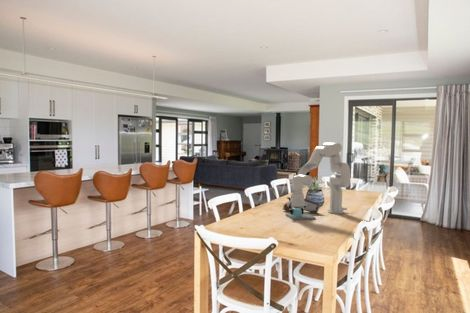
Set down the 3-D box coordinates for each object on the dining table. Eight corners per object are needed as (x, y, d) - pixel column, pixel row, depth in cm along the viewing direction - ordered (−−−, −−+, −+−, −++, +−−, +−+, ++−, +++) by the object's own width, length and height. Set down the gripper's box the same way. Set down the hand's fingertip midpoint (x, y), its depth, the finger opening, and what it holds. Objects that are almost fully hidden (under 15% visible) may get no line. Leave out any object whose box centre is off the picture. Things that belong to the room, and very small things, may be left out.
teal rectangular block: (294, 216, 251) (295, 210, 251) (292, 214, 257) (292, 208, 256) (301, 216, 253) (301, 209, 252) (298, 214, 258) (298, 208, 258)
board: (306, 214, 265) (306, 207, 265) (315, 219, 250) (315, 212, 249) (285, 215, 261) (285, 208, 261) (293, 220, 246) (293, 213, 245)
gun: (314, 221, 270) (320, 204, 268) (282, 209, 274) (288, 192, 272) (314, 219, 274) (320, 202, 273) (282, 208, 279) (288, 191, 277)
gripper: (288, 192, 248) (288, 215, 249) (310, 192, 252) (309, 215, 253) (285, 191, 255) (284, 213, 256) (305, 190, 259) (305, 212, 260)
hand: (296, 214), depth 255 cm, fingers open, 8 cm apart
